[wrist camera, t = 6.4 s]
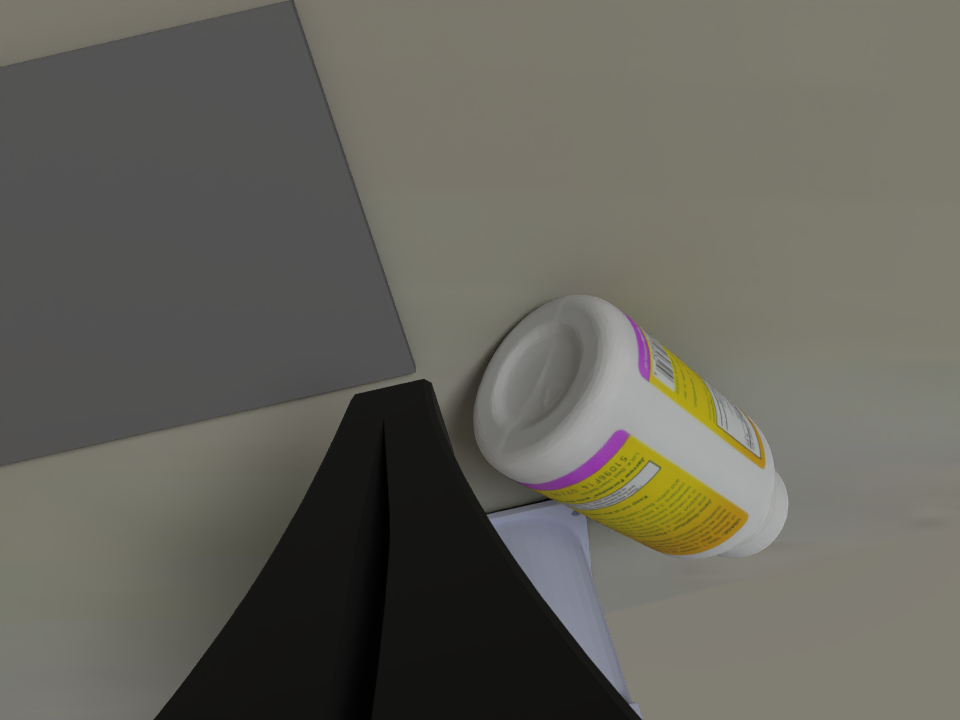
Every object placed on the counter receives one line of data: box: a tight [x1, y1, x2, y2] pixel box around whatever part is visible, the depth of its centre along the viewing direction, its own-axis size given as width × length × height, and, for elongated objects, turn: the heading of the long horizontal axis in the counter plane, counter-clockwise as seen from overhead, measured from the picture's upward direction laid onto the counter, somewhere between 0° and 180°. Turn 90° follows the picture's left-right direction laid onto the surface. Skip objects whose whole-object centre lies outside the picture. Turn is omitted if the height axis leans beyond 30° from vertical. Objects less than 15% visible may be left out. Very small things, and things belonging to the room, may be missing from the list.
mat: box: [0, 0, 416, 466], centre depth 16 cm, size 12×19×2 cm, turn 100°
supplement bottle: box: [473, 295, 788, 559], centre depth 20 cm, size 7×7×13 cm
